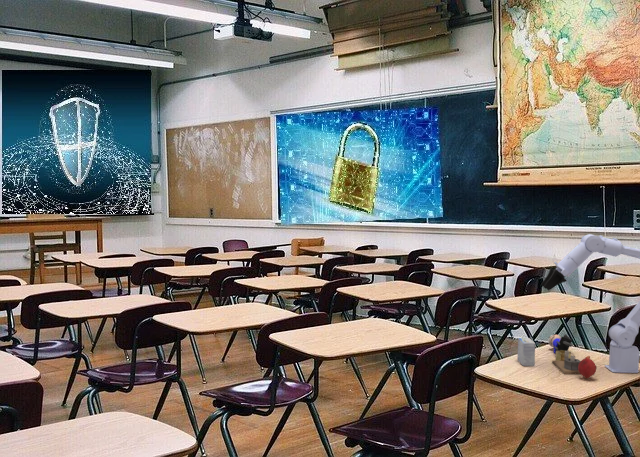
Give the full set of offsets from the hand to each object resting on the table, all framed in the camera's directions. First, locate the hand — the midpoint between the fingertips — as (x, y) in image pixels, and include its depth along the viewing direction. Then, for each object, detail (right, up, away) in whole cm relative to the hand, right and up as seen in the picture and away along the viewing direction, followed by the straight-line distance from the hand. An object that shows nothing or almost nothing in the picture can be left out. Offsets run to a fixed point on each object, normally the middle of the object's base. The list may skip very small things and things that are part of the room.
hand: (544, 287), depth 265 cm
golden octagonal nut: (+10, -28, +11) cm, 32 cm away
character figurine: (+13, -28, +22) cm, 37 cm away
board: (+10, -29, +1) cm, 31 cm away
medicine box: (-5, -29, +7) cm, 30 cm away
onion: (+11, -31, -11) cm, 34 cm away
